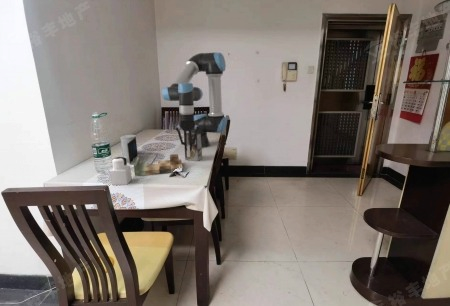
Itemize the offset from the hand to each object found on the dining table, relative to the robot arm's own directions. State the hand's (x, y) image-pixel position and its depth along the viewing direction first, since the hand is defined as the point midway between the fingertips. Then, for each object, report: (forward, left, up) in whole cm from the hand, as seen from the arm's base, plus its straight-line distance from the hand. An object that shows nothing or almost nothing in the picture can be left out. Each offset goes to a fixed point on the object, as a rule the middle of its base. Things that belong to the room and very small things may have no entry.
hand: (188, 156), depth 131 cm
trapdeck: (+16, 0, -6) cm, 17 cm away
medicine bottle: (+33, +14, -6) cm, 36 cm away
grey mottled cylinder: (+36, -35, -6) cm, 51 cm away
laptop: (+26, -20, -7) cm, 34 cm away
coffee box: (-4, -14, -6) cm, 16 cm away
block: (+8, -1, -4) cm, 9 cm away
